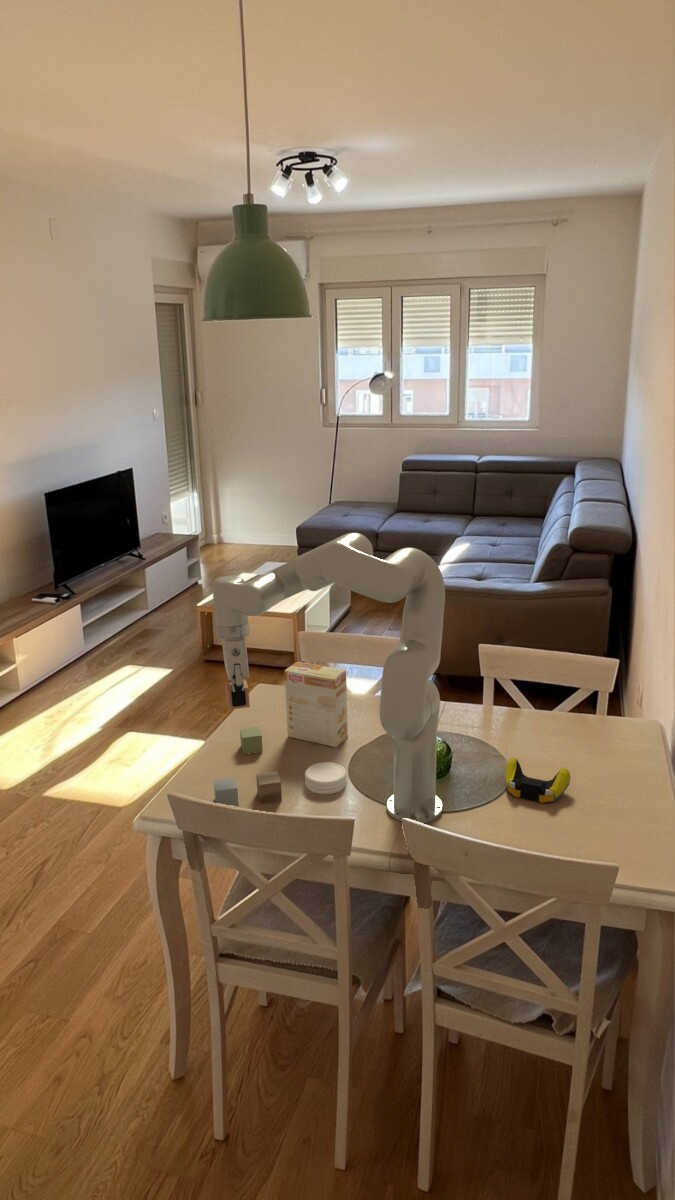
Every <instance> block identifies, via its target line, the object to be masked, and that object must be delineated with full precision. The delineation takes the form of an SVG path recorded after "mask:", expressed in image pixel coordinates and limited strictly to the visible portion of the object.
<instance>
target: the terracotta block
mask: <svg viewBox="0 0 675 1200" xmlns="http://www.w3.org/2000/svg"><path fill="white" fill-rule="evenodd" d="M243 681H244V689H245V696H246V705H245V706H237V707H233V706H232V695H231V691H232V682H231V681H230V682H229V681H225V682H224V685H225V687H224V688H225V699H226V704H227V708H228V711H229V710H236V709H239V710H240V709H244V708H245V709H246V708H250V707H251V706H250V692H249V686H248V682H247V679H243ZM235 683H236V681H234V685H235Z"/></svg>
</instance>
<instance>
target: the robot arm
mask: <svg viewBox="0 0 675 1200" xmlns="http://www.w3.org/2000/svg"><path fill="white" fill-rule="evenodd" d="M333 584H335V585H337V586H339V587H341V588H344V589H347V590H349V591H351V592H354V593H356V594H359V595H362V596H364V597H367V598H370V599H373V600H375V601H378V602H382V603H388V604H389V603H396V602H400V601H401V600H403V599H404V598H405V603H404V606H403V611H402V617H401V619H402V620H401V621H402V624H401V630H400V631H401V633H400V638H399V642H398V643H397V644H396V646H395V647H394V648H393V649H392V651H390V653H389V654H388V656H387V658H385V661H384V665H383V668H382V677H381V688H380V701H379V720H380V724H381V726H382V728H383V730H384V731H385V733H386V734H387V735H388V736H390V737H391V738H393V740H392V742H393V746H392V747H393V748H392V749H393V751H392V752H393V753H392V754H393V755H392V756H393V758H392V760H393V761H392V762H393V765H392V766H393V767H392V769H393V770H392V771H393V772H392V773H393V777H392V778H393V780H392V781H393V784H392V785H393V791H392V792H393V794H392V795H391V796H390V797H389V798H388V799H387V801H386V811H387V813H388V814H389V815H390V816H391V817H392V818H394V819H395V820H397V821H399V822H402V821H401V820H402V818H409V819H412V820H416V821H419V822H422V823H425V824H426V823H430V822H432V821H434V820H436V819H437V818H439V817H440V816H441V815H442V812H443V810H444V809H443V801H442V800H441V799H440V798H439V797H438V796H437V795H436V794H437V750H438V746H437V745H438V726H439V719H440V717H439V716H440V709H441V707H440V706H441V699H440V698H441V696H440V693H439V690H438V688H437V686H436V684H435V683H434V682H433V681H432V680H430V679H431V677H432V676H433V675H434V674H435V672H436V671H437V669H438V668H439V665H440V663H441V651H442V640H443V630H444V629H443V628H444V614H445V613H444V612H445V604H446V588H445V580H444V578H443V574H442V571H441V569H440V568H439V566H438V564H437V563H436V561H435V560H434V559H433V558H432V557H431V556H430V555H428V554H427V553H426V552H425V551H422V550H421V549H418V548H415V547H404V548H401V549H397V550H396V551H394V552H393V553H391V554H390V555H388V556H387V557H386V558H383V559H382V558H381V559H380V558H379V557H376V556H374V548H373V545H372V543H371V541H370V540H369V539H368V538H367V536H365V535H363V534H361V533H359V532H350V533H346V534H343V535H341V536H338V537H336V538H334V539H333V540H330V541H328V542H326V543H324V544H322V545H320V546H317V547H315V548H313V549H311V550H309V551H306V552H305V553H302V554H301V555H298V556H297V557H295V558H294V559H292V560H290V561H288V562H287V563H284V564H282V565H279V566H277V567H276V568H273V569H271V570H268V571H267V572H265V573H263V574H261V575H259V576H257V577H256V578H254V579H252V580H251V581H248V582H245V580H244V578H242V577H241V576H237V575H223V576H219V577H217V578H216V579H215V580H213V582H212V587H211V588H212V597H213V599H212V600H213V610H214V620H215V621H214V622H215V634H216V635H215V636H216V638H217V639H218V640H221V643H222V644H221V646H222V655H223V660H224V661H223V662H224V667H225V671H226V675H227V678H228V680H229V681H228V682H230V681H231V682H232V691H231V695H232V706H233V707H237V706H245V705H246V696H245V689H244V681H243V680H244V679H246V680H247V679H249V678H250V669H249V659H248V649H247V641H246V638H247V637H248V636H250V632H249V631H250V630H249V617H250V616H251V617H258V616H261V615H263V614H265V613H266V612H267V611H269V610H270V609H271V608H273V607H275V606H276V605H277V604H280V603H281V602H282V601H284V600H287V599H289V598H292V597H293V596H295V595H297V594H300V593H302V592H305V591H307V590H308V591H311V592H317V591H320V590H322V589H324V588H326V587H328V586H331V585H333ZM248 616H249V617H248ZM234 681H236V683H235V685H234Z"/></svg>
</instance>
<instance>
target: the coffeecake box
mask: <svg viewBox="0 0 675 1200" xmlns="http://www.w3.org/2000/svg"><path fill="white" fill-rule="evenodd" d="M284 686H285V707H286V708H285V709H286V725H287V737H288V738H292V739H298V740H302V741H305V742H311V743H315V744H320V745H323V746H330V747H333V748H338V747H339V746H340V745H341V743H343V742H344V741H345V740H347V738H348V737H349V735H348V734H349V733H348V732H349V731H348V700H347V699H348V695H347V693H348V692H347V691H348V690H347V687H348V686H347V670H346V669H342V668H337V667H330V666H326V665H324V666H323V665H318V664H313V663H307V662H300V661H296V662H294V663H293V664H292V665H291V666H288V667H287V668H286V669H285V670H284Z"/></svg>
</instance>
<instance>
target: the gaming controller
mask: <svg viewBox="0 0 675 1200" xmlns="http://www.w3.org/2000/svg"><path fill="white" fill-rule="evenodd" d="M504 773H505V774H504V777H505V778H504V783H505V789H506V790H507V792H508V793H509V794H511V795H512V796H514V797H515V798H520V799H525V800H530V801H535V802H540V803H541V804H543V803H551V802H555V801H556V800H558V799H559V798H560V797H561V796H563V794H564V793H565V791H566V790H567V789H568V787H569V785H570V781H571V773H570V771H569V770H568V769H567V768H566V767H562V768H560V770H559V771H558V772H557V773H556V774H555V775H554V776H553V778H552V779H550V780H542V779H539V778H533V777H529V776H527V775H525V774H524V772H523V770H522V767H521V764H520V763H519V761H518V758H516V757H514V758H510V759H508V761H507V763H506V765H505V769H504Z"/></svg>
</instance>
